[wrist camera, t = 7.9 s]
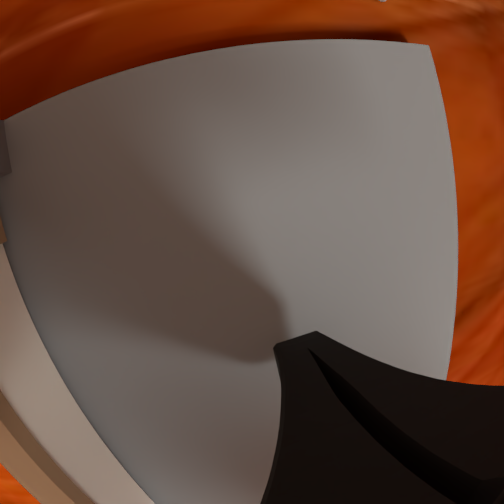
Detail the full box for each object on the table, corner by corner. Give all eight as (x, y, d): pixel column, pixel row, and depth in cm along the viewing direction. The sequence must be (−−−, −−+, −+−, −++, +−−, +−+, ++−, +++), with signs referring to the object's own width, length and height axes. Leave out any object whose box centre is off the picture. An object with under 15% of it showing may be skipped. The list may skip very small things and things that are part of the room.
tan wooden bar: (163, 508, 11) (168, 571, 7) (136, 510, 10) (136, 571, 7) (-5, 200, 7) (-89, 223, 3) (-35, 215, 6) (-115, 243, 3)
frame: (421, 448, 15) (462, 498, 10) (139, 530, 13) (141, 595, 8) (415, 50, 9) (516, 17, 4) (-65, 171, 7) (-161, 187, 2)
